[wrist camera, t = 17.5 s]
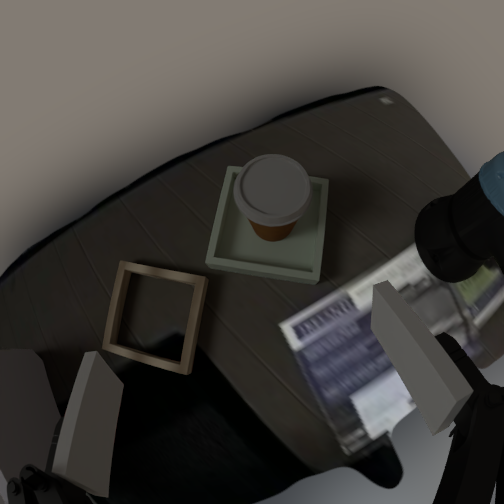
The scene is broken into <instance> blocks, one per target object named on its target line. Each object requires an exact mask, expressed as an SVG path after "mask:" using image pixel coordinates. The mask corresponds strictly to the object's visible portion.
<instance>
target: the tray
mask: <svg viewBox="0 0 504 504" xmlns="http://www.w3.org/2000/svg"><path fill="white" fill-rule="evenodd" d="M242 168H243V167H235V166H228V168H227V172H226V176H225V180H224V184H223V188H222V192H221V196H220V200H219V204H218V209H217V213H216V217H215V221H214V226H213V230H212V234H211V239H210V243H209V248H208V252H207V257H206V261H205V263H206V264H207V265H208V266H209V268H212V269H218V270H223V271H229V272H236V273H242V274H248V275H254V276H260V277H266V278H273V279H279V280H286V281H292V282H299V283H305V284H312V285H316V284H317V282H318V281H319V277H320V269H321V261H322V252H323V243H324V233H325V222H326V211H327V199H328V185H329V179H323V178H317V177H311V176H309V178H310V180H311V183H312V186H313V197H312V201H311V204H310V206H309V208H308V209H307V211H306V212H305V213H304V214H303V216H302V217H300V218H299V219H298V221H297V223H296V224H295V226H294V228H293V229H292V231H291V233H290V234H289V235H288V236H287V237H286V238H284V239H283V240H280V241H276V242H269V241H266V240H263V239H261V238H260V237H259V236H258V235H257V234H256V233H255V231H254V229H253V227H252V226H251V224H250V222H249V220H248V219H247V217H245V216H244V214H243V213H242V212H241V211H240V210H239V208H238V206H237V205H236V202H235V199H234V193H233V189H234V183H235V180H236V178H237V176H238V174H239V173H240V171H241V170H242Z"/></svg>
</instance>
